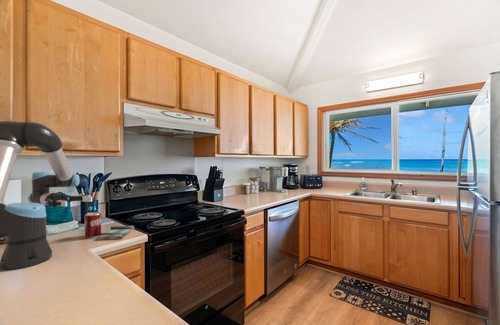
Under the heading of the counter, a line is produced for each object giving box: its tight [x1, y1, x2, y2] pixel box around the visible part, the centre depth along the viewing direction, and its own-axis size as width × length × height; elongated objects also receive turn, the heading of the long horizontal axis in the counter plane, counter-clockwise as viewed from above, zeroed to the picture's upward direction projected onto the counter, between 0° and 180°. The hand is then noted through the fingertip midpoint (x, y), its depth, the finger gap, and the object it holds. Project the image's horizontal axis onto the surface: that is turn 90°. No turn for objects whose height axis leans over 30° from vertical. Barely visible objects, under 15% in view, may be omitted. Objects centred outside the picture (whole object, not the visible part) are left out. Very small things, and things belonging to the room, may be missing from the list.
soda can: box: [84, 212, 102, 239], centre depth 123 cm, size 7×7×12 cm
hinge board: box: [95, 225, 135, 241], centre depth 126 cm, size 12×18×3 cm, turn 8°
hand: (79, 201), depth 126 cm, fingers open, 13 cm apart
